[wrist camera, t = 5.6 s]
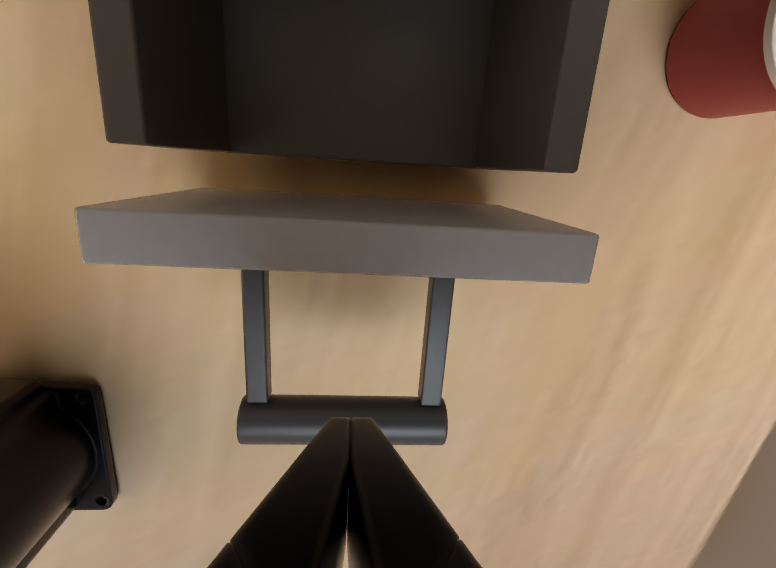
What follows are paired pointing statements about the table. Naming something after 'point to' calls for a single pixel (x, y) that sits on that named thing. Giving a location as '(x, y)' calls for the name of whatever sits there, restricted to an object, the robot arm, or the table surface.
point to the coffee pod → (724, 58)
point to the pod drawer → (346, 157)
